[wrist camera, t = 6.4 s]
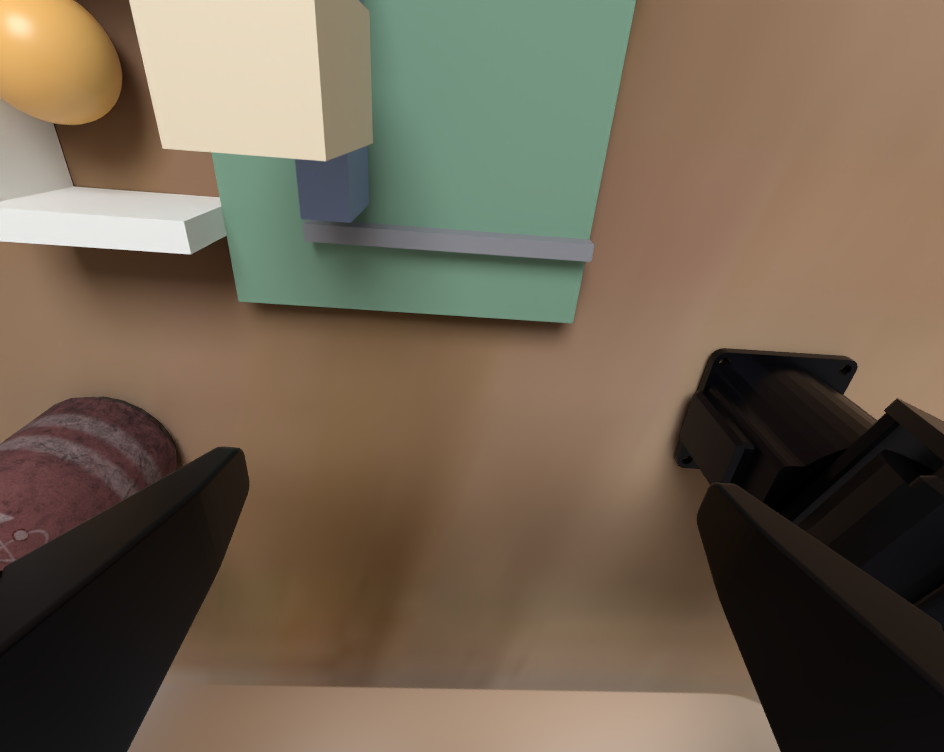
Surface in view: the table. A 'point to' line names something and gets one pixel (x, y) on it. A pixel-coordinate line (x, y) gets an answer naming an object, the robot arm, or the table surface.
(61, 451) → the can
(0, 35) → the ball
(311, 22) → the beige and blue block
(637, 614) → the table surface
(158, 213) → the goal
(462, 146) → the panel
